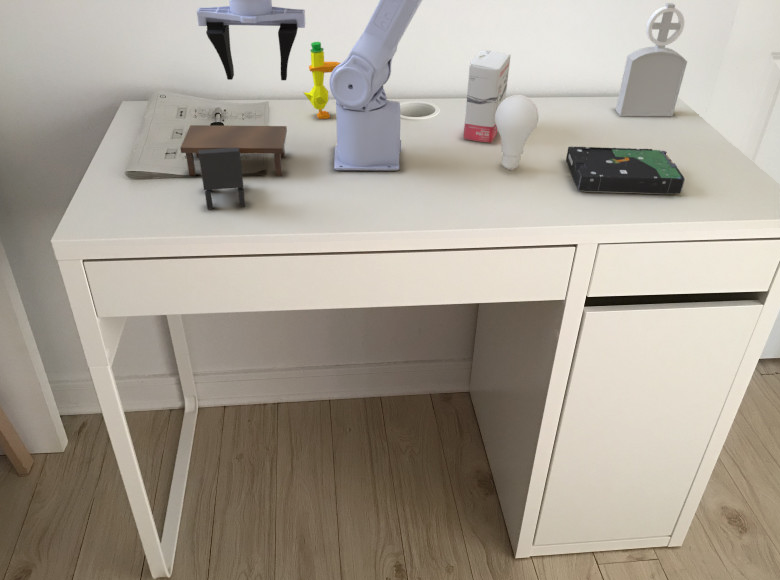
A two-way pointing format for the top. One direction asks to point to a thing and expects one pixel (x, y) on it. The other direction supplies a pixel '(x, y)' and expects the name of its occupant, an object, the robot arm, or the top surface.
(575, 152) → the disk drive
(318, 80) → the toy figure
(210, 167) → the chair
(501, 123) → the lightbulb
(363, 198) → the top surface
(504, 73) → the ink box
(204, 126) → the brown toy table
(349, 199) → the top surface
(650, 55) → the gravestone
